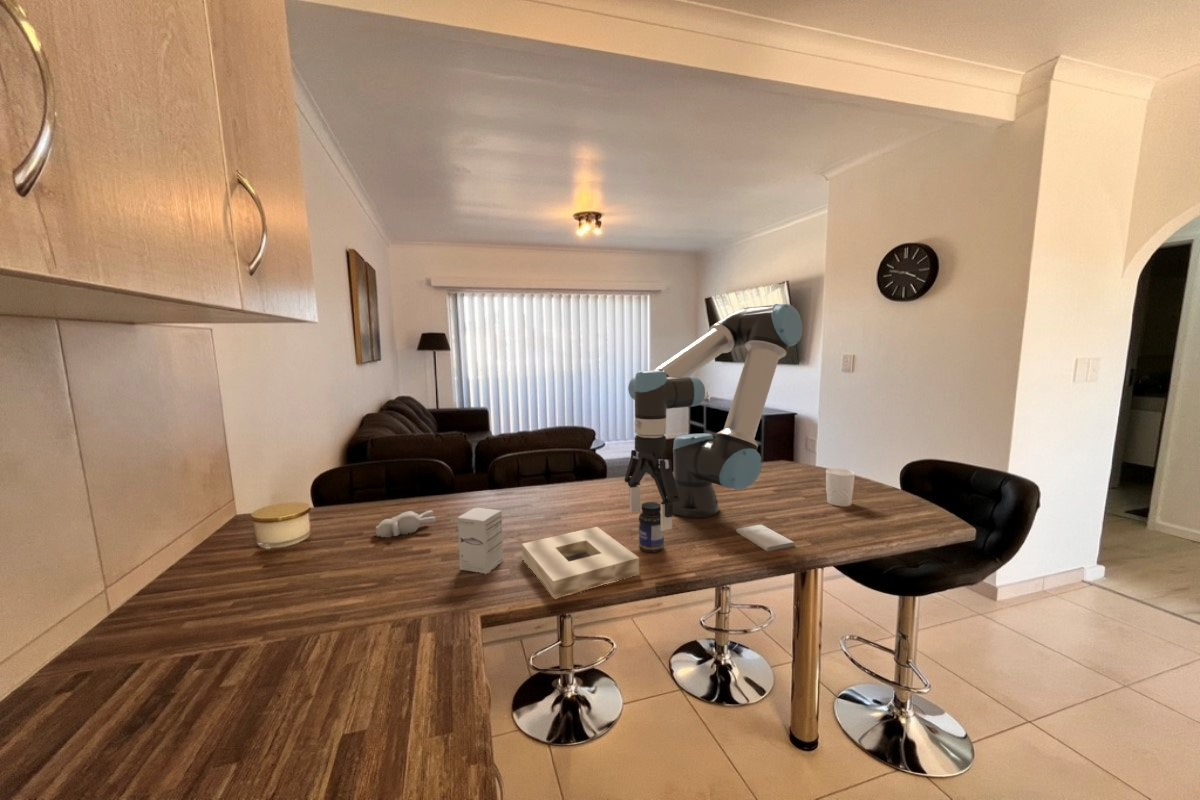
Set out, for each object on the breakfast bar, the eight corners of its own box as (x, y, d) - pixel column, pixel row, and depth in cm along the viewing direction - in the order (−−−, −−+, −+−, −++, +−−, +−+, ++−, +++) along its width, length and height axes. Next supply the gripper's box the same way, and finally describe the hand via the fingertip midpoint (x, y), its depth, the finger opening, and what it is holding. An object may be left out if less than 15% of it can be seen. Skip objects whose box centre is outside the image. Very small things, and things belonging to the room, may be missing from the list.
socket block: (597, 541, 117) (596, 526, 116) (639, 575, 99) (638, 557, 99) (522, 559, 107) (521, 543, 107) (553, 600, 90) (553, 581, 89)
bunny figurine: (374, 517, 126) (430, 502, 133) (378, 534, 127) (433, 518, 134) (374, 529, 118) (434, 512, 124) (378, 547, 119) (437, 529, 125)
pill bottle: (634, 545, 114) (634, 502, 113) (655, 540, 116) (655, 499, 115) (646, 555, 108) (646, 510, 107) (668, 550, 111) (668, 506, 109)
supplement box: (459, 570, 103) (455, 517, 101) (478, 556, 110) (475, 506, 108) (486, 575, 100) (483, 520, 99) (504, 560, 107) (502, 509, 106)
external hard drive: (766, 553, 109) (736, 533, 121) (794, 548, 112) (762, 529, 123) (767, 547, 109) (736, 528, 121) (794, 541, 112) (762, 523, 123)
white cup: (829, 506, 138) (830, 474, 137) (821, 498, 145) (822, 468, 144) (857, 507, 136) (859, 475, 135) (847, 499, 144) (849, 468, 143)
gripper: (611, 428, 118) (611, 507, 121) (668, 445, 96) (667, 541, 99) (635, 426, 122) (635, 502, 124) (696, 442, 100) (694, 534, 102)
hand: (649, 520), depth 111 cm, fingers open, 13 cm apart
